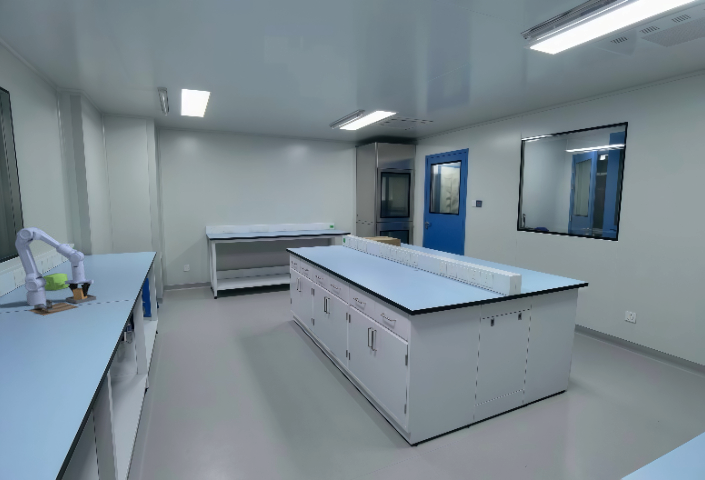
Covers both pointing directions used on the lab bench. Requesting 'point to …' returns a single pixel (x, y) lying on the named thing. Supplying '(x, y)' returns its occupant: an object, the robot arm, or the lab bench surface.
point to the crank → (44, 306)
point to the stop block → (78, 294)
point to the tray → (89, 298)
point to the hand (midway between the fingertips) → (80, 296)
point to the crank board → (54, 309)
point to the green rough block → (56, 281)
